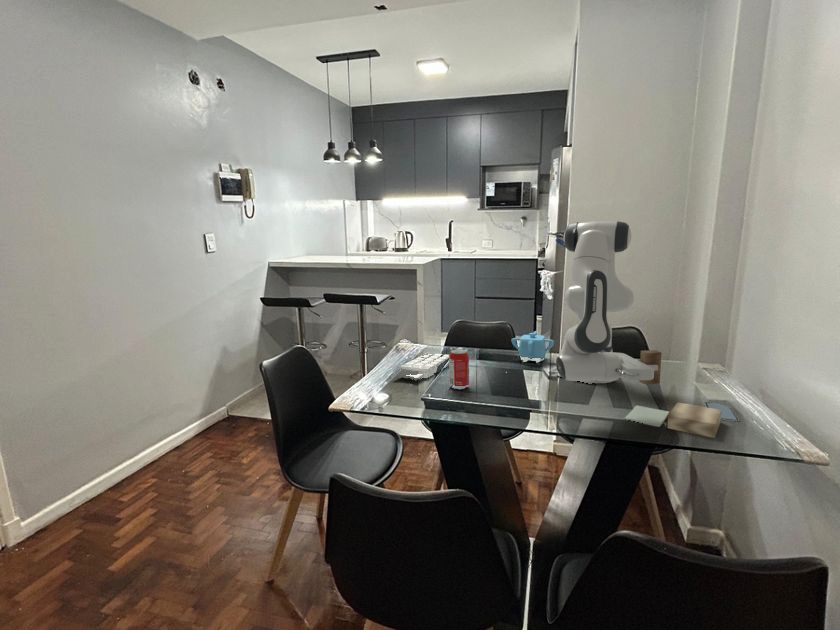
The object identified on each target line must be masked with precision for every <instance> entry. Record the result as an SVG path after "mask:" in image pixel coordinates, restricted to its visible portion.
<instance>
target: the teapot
mask: <svg viewBox="0 0 840 630" xmlns="http://www.w3.org/2000/svg"><path fill="white" fill-rule="evenodd" d="M545 337H546V336H545V335H543V334H541V335H539V334H538V331H537V330H535V331H533V332H530V333H528V334H523V335H522V336H521V337H514V338H511V343H512V345H513V346H514V347H515V348H516V349H517V351H518V357H519V356H521V357H528V358H530V359H532V358H541V359H543V358H544V357H545V358H546V356H545V355H547V352H548V351H549V350H550V349H551V348H553V346H554V345H555V340H553V339H549V338H545ZM517 341H519V344H518V343H517ZM546 342H548V343H549V344H548V345H547V344H546Z"/></svg>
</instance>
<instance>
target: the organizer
mask: <svg viewBox="0 0 840 630" xmlns="http://www.w3.org/2000/svg"><path fill="white" fill-rule="evenodd" d="M423 355H424V354H423ZM429 355H432V354H428V355H424V356H422V355H419V356H418V357H416V358H414V359H412V360H410V361H408V362H405V363H404V364H402V365H400V369H401V368H402V369H406V370H412V371H419V372H425V373H428V372H430V370H433V369H434V368H435V367H437V366H439V365H440V364H441V363H443V362H444V361H445V360H447V359H448V358H449V354H442V353H435V354H434V355H433V356H431V357H429ZM441 355H443V356H442V357H440V356H441ZM421 357H424V358H421ZM427 357H429V358H427ZM438 357H440V358H438ZM425 358H427V359H425ZM437 358H438V359H437ZM424 359H425V360H424ZM434 359H436V360H434ZM422 360H424V361H422ZM420 361H421V362H420ZM433 361H434V362H433ZM430 362H431V363H430ZM425 373H424V374H425ZM422 375H423V374H417V375H411V374H410V375H406V376H410V377H414V378H419V377H420V376H422Z"/></svg>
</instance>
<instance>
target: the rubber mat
mask: <svg viewBox="0 0 840 630" xmlns="http://www.w3.org/2000/svg"><path fill="white" fill-rule="evenodd" d="M669 414H670V411H668V410H663V409H658V408H653V407H647V406H641V405H635V406H634V408H632V409H631V411H630V412H629V413H628V414H627V415H626V416H625V417H624V420H625V419H626V420H625V421H628V420H631V421H630V422H633V421H635V422H634V423H637V422H639V423H638V424H642V423H643V424H642V425H648V426H652V427H658V428H660V427H661V426H662V425H663V423H664V422H665V420H666V419H667V418H668V415H669Z"/></svg>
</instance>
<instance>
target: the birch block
mask: <svg viewBox="0 0 840 630" xmlns="http://www.w3.org/2000/svg"><path fill="white" fill-rule="evenodd" d="M721 413H722V410H718V409H713V408H707V407H705V406H702V405H695V404H689V403H683V402H679V401H678V402H676V404H675V405H674V406H673V408H672V409H671V411H669V415H668V416H667V427H666V428H667V429H670V430H675V431H679V432H683V433H684V432H685V433H690V434H693V435H694V434H695V435H699V436H704V437H708V438H713V439H715V438H716V436H717V433H718V430H719V429H720V428H719V427H720V426H721V423H722V420H721Z"/></svg>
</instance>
